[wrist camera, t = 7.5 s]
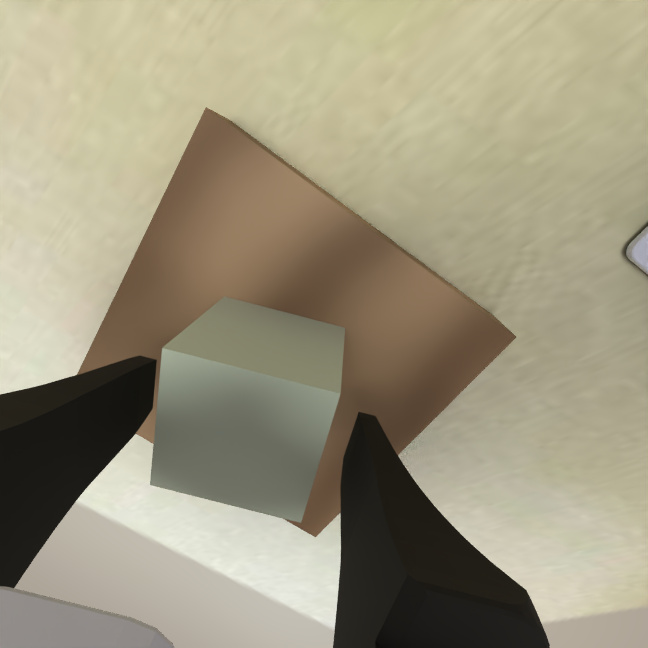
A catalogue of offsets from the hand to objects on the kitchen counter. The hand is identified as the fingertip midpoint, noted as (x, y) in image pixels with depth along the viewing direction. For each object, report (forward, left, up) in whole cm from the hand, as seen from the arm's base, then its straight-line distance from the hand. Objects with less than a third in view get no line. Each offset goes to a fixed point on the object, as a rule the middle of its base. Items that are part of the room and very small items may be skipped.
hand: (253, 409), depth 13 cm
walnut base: (0, 0, -6) cm, 6 cm away
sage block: (0, 0, -3) cm, 3 cm away
